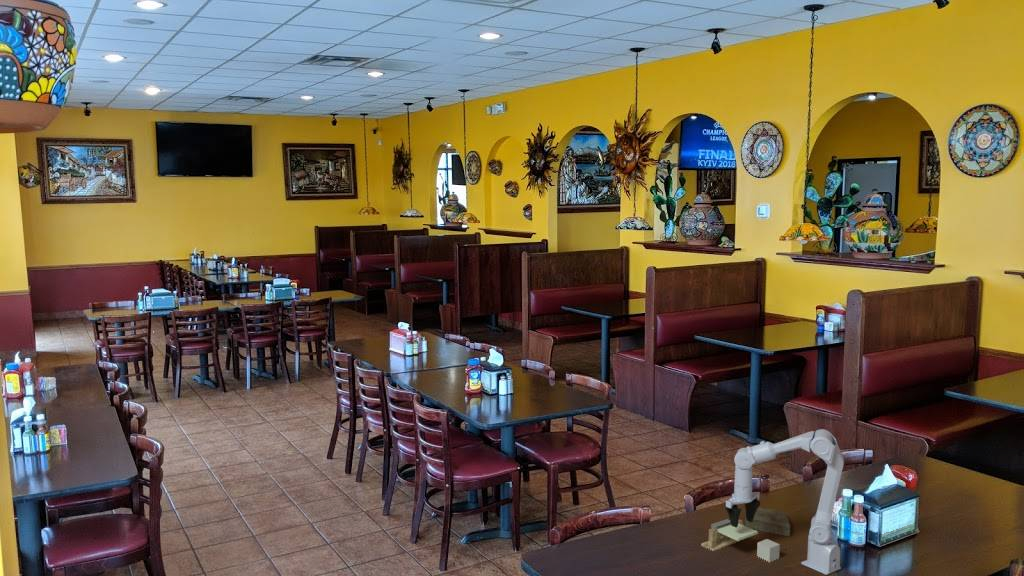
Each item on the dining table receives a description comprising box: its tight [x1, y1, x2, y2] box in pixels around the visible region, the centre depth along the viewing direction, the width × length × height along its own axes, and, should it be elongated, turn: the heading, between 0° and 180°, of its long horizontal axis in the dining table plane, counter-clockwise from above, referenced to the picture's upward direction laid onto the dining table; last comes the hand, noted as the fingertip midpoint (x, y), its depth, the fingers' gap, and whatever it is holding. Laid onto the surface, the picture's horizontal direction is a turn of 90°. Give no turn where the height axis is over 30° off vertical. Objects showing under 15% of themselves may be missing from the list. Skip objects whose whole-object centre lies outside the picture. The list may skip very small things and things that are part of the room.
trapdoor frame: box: [700, 519, 744, 552], centre depth 273 cm, size 5×15×7 cm, turn 124°
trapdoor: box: [710, 518, 759, 542], centre depth 269 cm, size 12×10×1 cm
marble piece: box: [744, 507, 791, 537], centre depth 288 cm, size 17×15×4 cm
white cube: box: [756, 538, 781, 563], centre depth 262 cm, size 5×5×5 cm
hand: (741, 523), depth 266 cm, fingers open, 7 cm apart
